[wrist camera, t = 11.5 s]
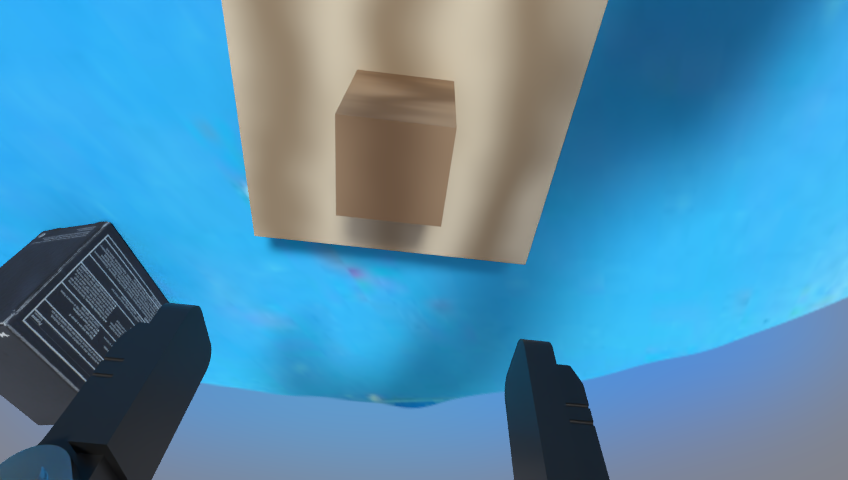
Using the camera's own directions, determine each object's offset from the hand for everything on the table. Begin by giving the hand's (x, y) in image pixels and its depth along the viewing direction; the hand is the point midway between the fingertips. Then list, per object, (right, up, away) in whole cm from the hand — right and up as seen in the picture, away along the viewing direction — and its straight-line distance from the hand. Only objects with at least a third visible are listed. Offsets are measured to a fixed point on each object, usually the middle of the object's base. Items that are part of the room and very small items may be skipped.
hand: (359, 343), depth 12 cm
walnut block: (0, +9, +13) cm, 16 cm away
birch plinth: (+1, +12, +17) cm, 20 cm away
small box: (-24, 0, +27) cm, 36 cm away
